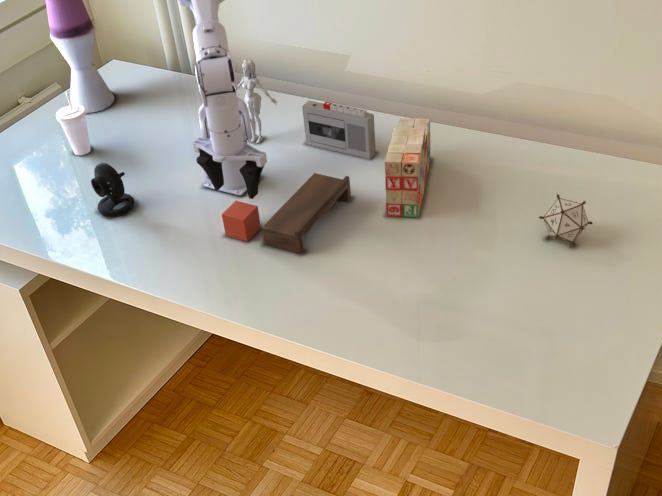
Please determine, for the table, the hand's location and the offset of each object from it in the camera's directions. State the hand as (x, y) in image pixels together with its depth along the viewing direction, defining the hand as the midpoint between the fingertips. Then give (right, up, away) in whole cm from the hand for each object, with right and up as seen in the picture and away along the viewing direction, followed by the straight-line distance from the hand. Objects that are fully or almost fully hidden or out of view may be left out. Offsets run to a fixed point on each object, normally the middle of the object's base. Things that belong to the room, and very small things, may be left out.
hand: (236, 191), depth 162 cm
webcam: (-26, 0, +16) cm, 31 cm away
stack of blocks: (+33, +3, +13) cm, 36 cm away
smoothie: (-38, +16, +34) cm, 53 cm away
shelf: (+13, -4, +7) cm, 16 cm away
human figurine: (+2, +18, +31) cm, 36 cm away
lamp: (-40, +31, +51) cm, 72 cm away
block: (+1, -7, +6) cm, 9 cm away
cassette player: (+20, +14, +26) cm, 35 cm away
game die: (+60, -9, -3) cm, 61 cm away
